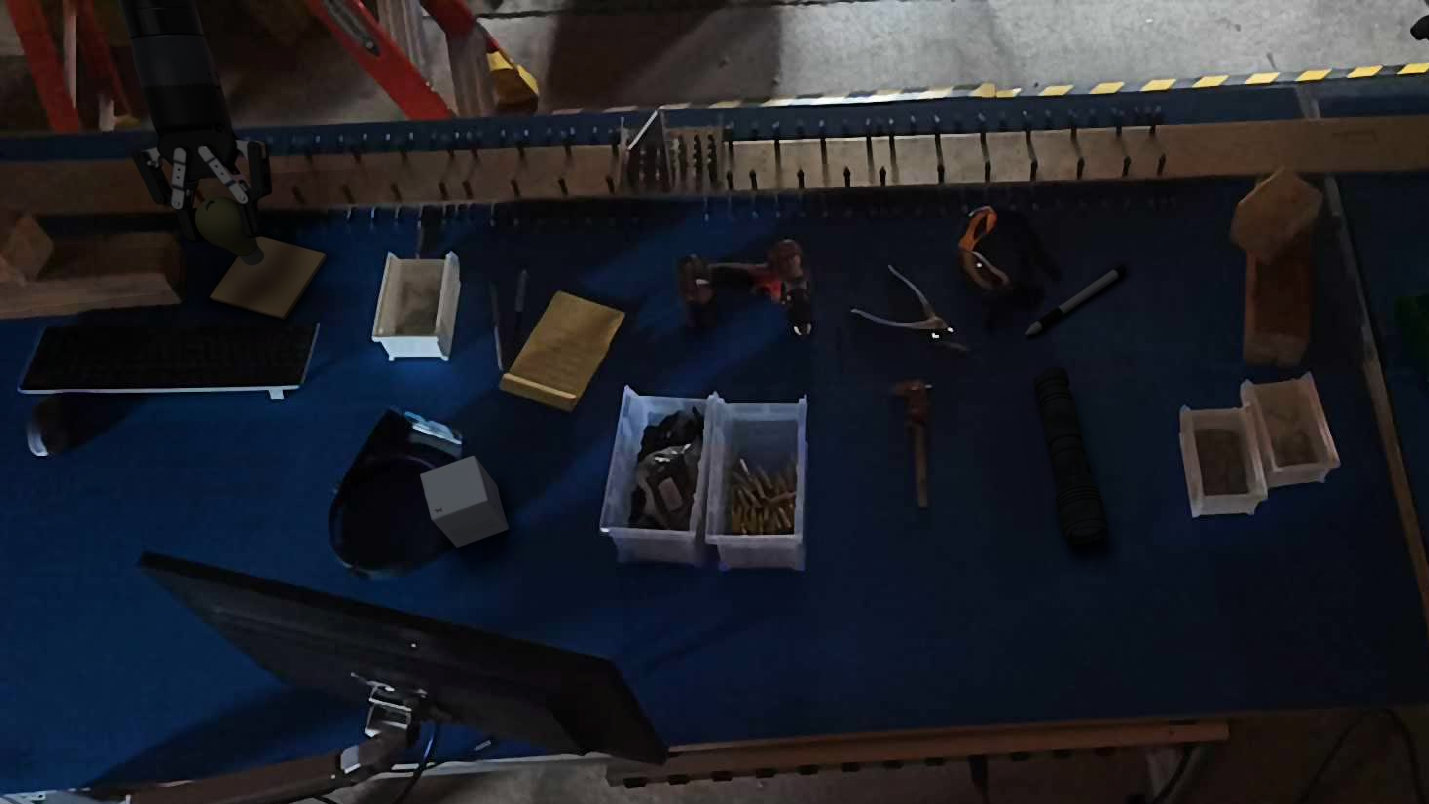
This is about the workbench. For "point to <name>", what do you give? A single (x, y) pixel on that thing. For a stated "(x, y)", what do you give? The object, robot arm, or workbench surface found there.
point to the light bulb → (226, 228)
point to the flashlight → (1069, 461)
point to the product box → (464, 501)
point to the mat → (270, 279)
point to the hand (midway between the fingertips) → (226, 239)
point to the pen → (1076, 300)
